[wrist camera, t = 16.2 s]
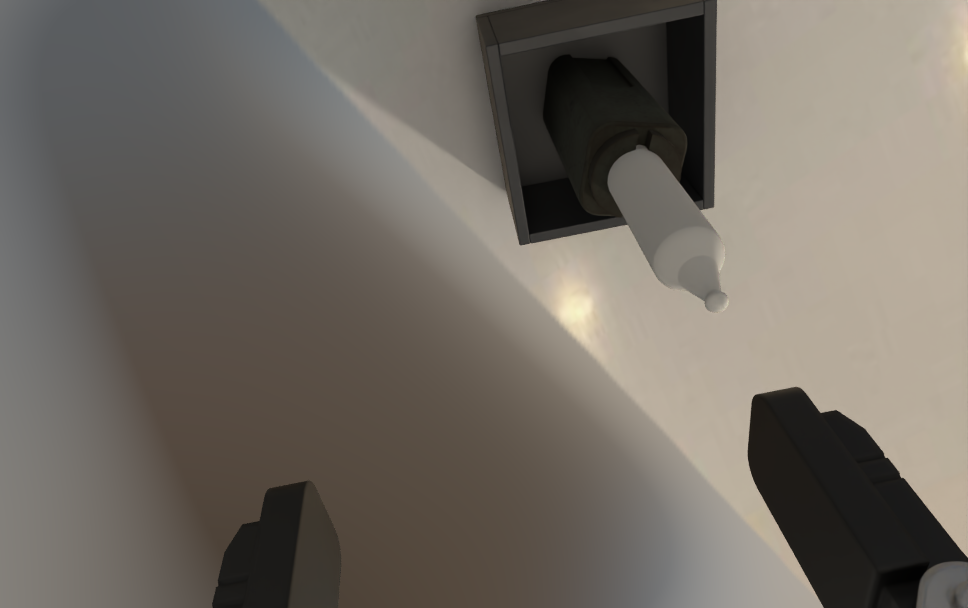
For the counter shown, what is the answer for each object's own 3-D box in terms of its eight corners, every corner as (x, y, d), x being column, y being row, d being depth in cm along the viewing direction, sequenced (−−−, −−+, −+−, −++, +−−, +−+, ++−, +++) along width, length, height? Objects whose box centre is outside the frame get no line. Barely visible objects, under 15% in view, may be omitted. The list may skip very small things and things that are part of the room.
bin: (506, 193, 50) (519, 246, 43) (475, 15, 43) (485, 46, 36) (675, 159, 49) (714, 207, 43) (672, -27, 42) (717, -2, 36)
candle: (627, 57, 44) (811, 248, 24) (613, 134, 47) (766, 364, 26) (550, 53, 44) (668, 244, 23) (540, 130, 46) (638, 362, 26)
